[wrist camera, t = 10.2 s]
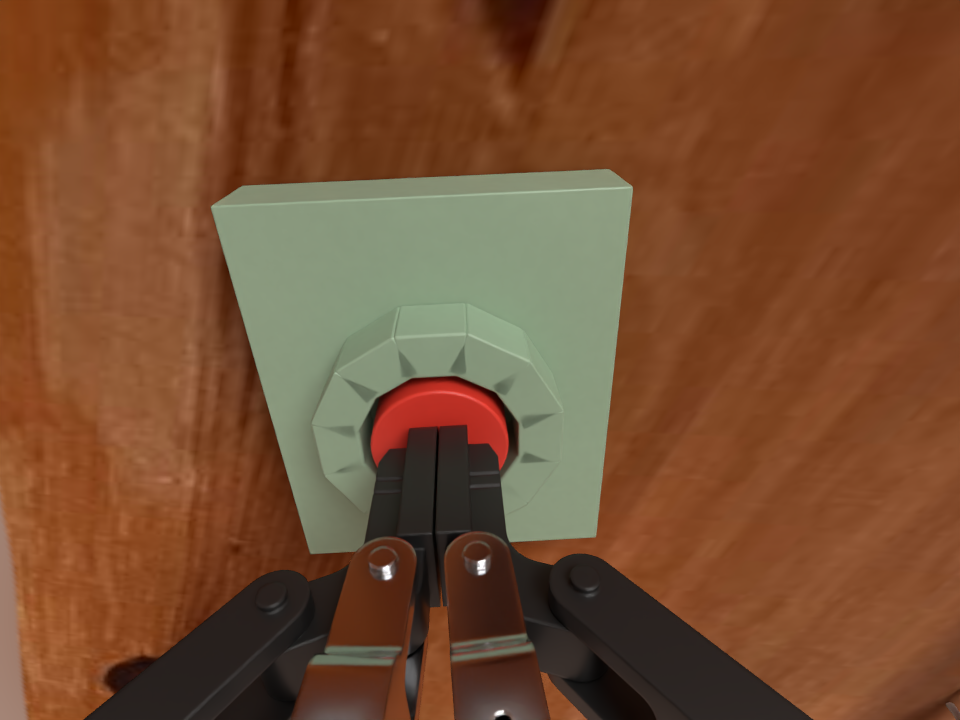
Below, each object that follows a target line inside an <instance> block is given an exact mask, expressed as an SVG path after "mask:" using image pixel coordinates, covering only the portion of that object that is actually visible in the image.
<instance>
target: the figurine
mask: <svg viewBox="0 0 960 720" xmlns="http://www.w3.org/2000/svg"><path fill="white" fill-rule="evenodd" d="M946 706H947V708H948V709H949V710H950V711H951V713H952V714H953V715H954V717H955V719H956V720H960V712H959V711H958V709H957V708H956V706H955V705H954V704H953V703H951V702H948V703H946Z"/></svg>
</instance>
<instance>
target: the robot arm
mask: <svg viewBox="0 0 960 720" xmlns="http://www.w3.org/2000/svg"><path fill="white" fill-rule="evenodd" d="M441 590H442V599H443V606H447V611H448V624H449V638H450V661H451V676H452V689H453V703H454V717H455V720H550V715H549V710H548V706H547V701H546V697H545V692H544V687H543V683H542V678H541V673H540V671H541V672H544V673H547V674H548V676H549V678H550V680H551V681H552V683H553V684H554V685H555V686H556V687H557V688H558V690H559V691H560V692H561V693H562V694H563V695H564V696H565V697H566V698H567V699H568V700H569V701H570V702H571V703H572V704H573V705H574V706H575V707H576V708H577V709H578V710H579V711H580V712H581V713H582V714H583V715H584V716H585V717H586V719H587V720H813V719H812V718H810V717H809V716H808V715H806V714H805V713H804V712H803V711H801V710H800V709H799V708H797V707H796V706H795V705H793V704H792V703H791V702H789V701H788V700H787V699H785V698H784V697H783V696H781V695H780V694H779V693H778V692H776V691H775V690H774V689H772V688H771V687H770V686H768V685H767V684H766V683H764V682H763V681H762V680H760V679H759V678H758V677H757V676H755V675H754V674H753V673H751V672H750V671H749V670H747V669H746V668H745V667H743V666H742V665H741V664H739V663H738V662H737V661H736V660H734V659H733V658H732V657H730V656H729V655H728V654H726V653H725V652H724V651H722V650H721V649H720V648H718V647H717V646H716V645H714V644H713V643H712V642H711V641H709V640H708V639H707V638H705V637H704V636H703V635H701V634H700V633H699V632H697V631H696V630H695V629H693V628H692V627H691V626H690V625H688V624H687V623H686V622H684V621H683V620H682V619H680V618H679V617H678V616H676V615H675V614H674V613H672V612H671V611H670V610H668V609H667V608H666V607H665V606H663V605H662V604H661V603H659V602H658V601H657V600H655V599H654V598H653V597H651V596H650V595H649V594H647V593H646V592H645V591H644V590H642V589H641V588H640V587H638V586H637V585H636V584H634V583H633V582H632V581H630V580H629V579H628V578H626V577H625V576H624V575H623V574H621V573H620V572H619V571H617V570H616V569H615V568H613V567H612V566H611V565H609V564H608V563H607V562H605V561H604V560H602V559H600V558H598V557H595V556H592V555H588V554H572V555H568V556H566V557H563V558H562V559H560V560H559V561H558V562H557V563H556V564H555V565H549V564H545V563H541V562H537V561H533V560H531V559H528V558H526V557H524V556H523V555H521V554H520V553H519V552H517V551H516V550H515V549H514V548H513V547H512V545H511V543H510V542H509V540H508V537H507V533H506V524H505V515H504V506H503V497H502V488H501V479H500V470H499V460H498V455H497V454H496V453H495V451H494V450H493V449H492V447H491V446H490V445H489V443H483V444H468V430H467V425H452V426H440V427H439V434H438V427H437V426H435V427H417V428H409V432H408V441H407V448H395V449H389V450H388V451H387V453H386V454H385V455H384V457H383V458H382V459H381V461H380V462H379V464H378V469H377V475H376V482H375V486H374V494H373V497H372V502H371V508H370V513H369V519H368V524H367V530H366V535H365V541H364V545H362V546H361V547H360V548H359V549H358V550H357V551H356V552H355V553H354V555H353V557H352V558H351V561H350V564H349V565H347V566H346V567H344V568H343V569H341V570H339V571H337V572H335V573H333V574H330V575H327V576H324V577H321V578H319V579H316V580H313V581H310V582H308V581H307V580H306V578H305V577H304V576H303V575H301V574H300V573H298V572H295V571H291V570H279V571H274V572H270V573H268V574H265V575H263V576H261V577H259V578H258V579H256V580H255V581H253V582H252V583H251V584H250V585H248V586H247V587H246V588H245V589H243V590H242V591H241V592H240V593H238V594H237V595H236V596H235V597H234V598H232V599H231V600H230V601H229V602H227V603H226V604H225V605H224V606H222V607H221V608H220V609H219V610H218V611H216V612H215V613H214V614H213V615H211V616H210V617H209V618H208V619H206V620H205V621H204V622H203V623H202V624H200V625H199V626H198V627H197V628H195V629H194V630H193V631H192V632H191V633H189V634H188V635H187V636H186V637H184V638H183V639H182V640H181V641H179V642H178V643H177V644H176V645H175V646H173V647H172V648H171V649H170V650H168V651H167V652H166V653H165V654H163V655H162V656H161V657H160V658H159V659H157V660H156V661H155V662H154V663H152V664H151V665H150V666H149V667H148V668H146V669H145V670H144V671H143V672H141V673H140V674H139V675H138V676H136V677H135V678H134V679H133V680H132V681H130V682H129V683H128V684H127V685H125V686H124V687H123V688H122V689H120V690H119V691H118V692H117V693H116V694H114V695H113V696H112V697H111V698H109V699H108V700H107V701H106V702H105V703H103V704H102V705H101V706H100V707H98V708H97V709H96V710H95V711H93V712H92V713H91V714H90V715H89V716H87V717H86V718H85V719H84V720H419V713H420V705H421V696H422V688H423V680H424V672H425V663H426V655H427V647H428V635H427V634H428V630H429V613H430V607H440V599H441Z"/></svg>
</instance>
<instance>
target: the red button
mask: <svg viewBox="0 0 960 720" xmlns="http://www.w3.org/2000/svg"><path fill="white" fill-rule="evenodd" d="M452 425H467V430H468V444H483V443H489V445H490V446H491V447H492V449H493V450H494V451H495V453H496V454H497V455H498V460H499V470H501V468H502V466H503V465H504V462H505V460H506V458H507V454H508V448H509V440H508V432H507V425H506V418H505V411H504V404H503V402H502V400H501V399H500V398H499V396H498V395H497V394H496V393H495V392H493V391H491V390H488V389H486V388H483V387H481V386H479V385H476V384H474V383H472V382H469V381H467V380H465V379H462V378H460V377H457V376H446V377H427V378H411V379H410V380H408V381H406V382H404V383H403V384H401V385H399V386H397V387H396V388H394V389H392V390H390V391H389V392H387V393H385V394H383V395H382V396H380V397H379V401H378V406H377V411H376V415H375V420H374V425H373V429H372V434H371V443H370V445H371V453H372V456H373V459H374V462H375V464H376V466H377V468H378V464H379V462H380V461H381V459H382V458H383V457H384V455H385V454H386V453H387V451H388V450H389V449H395V448H407V441H408V432H409V428H417V427H435V426H437V427H438V434H439V427H440V426H452Z"/></svg>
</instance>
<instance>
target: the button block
mask: <svg viewBox="0 0 960 720" xmlns="http://www.w3.org/2000/svg"><path fill="white" fill-rule="evenodd" d="M632 192H633V187H632V186H631V185H630V184H628V183H627V182H626V181H624V180H623V179H622V178H620V177H619V176H618V175H616V174H615V173H614V172H612V171H611V170H610V169H601V170H579V171H557V172H535V173H513V174H491V175H469V176H447V177H425V178H403V179H382V180H360V181H338V182H316V183H294V184H272V185H250V186H242V187H240V188H238V189H237V190H235V191H234V192H232V193H231V194H229V195H228V196H226V197H225V198H223V199H221V200H220V201H218V202H217V203H215V204H214V205H212V206H211V210H212V214H213V217H214V221H215V224H216V228H217V231H218V235H219V238H220V242H221V245H222V249H223V252H224V256H225V259H226V263H227V266H228V270H229V273H230V276H231V280H232V283H233V287H234V290H235V294H236V297H237V301H238V304H239V308H240V311H241V315H242V318H243V322H244V325H245V329H246V332H247V336H248V339H249V343H250V346H251V350H252V353H253V357H254V360H255V364H256V367H257V370H258V374H259V377H260V381H261V384H262V388H263V391H264V395H265V398H266V402H267V405H268V409H269V412H270V416H271V419H272V423H273V426H274V430H275V433H276V437H277V440H278V444H279V447H280V451H281V454H282V457H283V461H284V464H285V468H286V471H287V475H288V478H289V482H290V485H291V489H292V492H293V496H294V499H295V503H296V506H297V510H298V513H299V517H300V520H301V524H302V527H303V531H304V534H305V538H306V541H307V544H308V548H309V551H310V554H322V553H339V552H356V551H357V550H358V549H359V548H360V547H361V546H362V545H364V541H365V535H366V530H367V524H368V519H369V513H370V508H371V502H372V497H373V494H374V486H375V482H376V475H377V469H378V468H377V466H376V464H375V462H374V459H373V456H372V453H371V445H370V443H371V434H372V429H373V425H374V420H375V415H376V411H377V406H378V401H379V397H380V396H382V395H383V394H385V393H387V392H389V391H390V390H392V389H394V388H396V387H397V386H399V385H401V384H403V383H404V382H406V381H408V380H410V379H411V378H427V377H446V376H457V377H460V378H462V379H465V380H467V381H469V382H472V383H474V384H476V385H479V386H481V387H483V388H486V389H488V390H491V391H493V392H495V393H496V394H497V395H498V396H499V398H500V399H501V400H502V402H503V404H504V411H505V418H506V425H507V432H508V440H509V448H508V454H507V458H506V460H505V462H504V465H503V466H502V468H501V470H500V479H501V488H502V497H503V506H504V515H505V524H506V533H507V537H508V540H509V542H524V541H540V540H557V539H574V538H591V537H596V531H597V522H598V512H599V503H600V493H601V484H602V475H603V465H604V456H605V446H606V437H607V428H608V418H609V409H610V399H611V390H612V380H613V371H614V362H615V352H616V343H617V333H618V324H619V315H620V305H621V296H622V286H623V277H624V268H625V258H626V249H627V239H628V230H629V220H630V211H631V202H632Z"/></svg>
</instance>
